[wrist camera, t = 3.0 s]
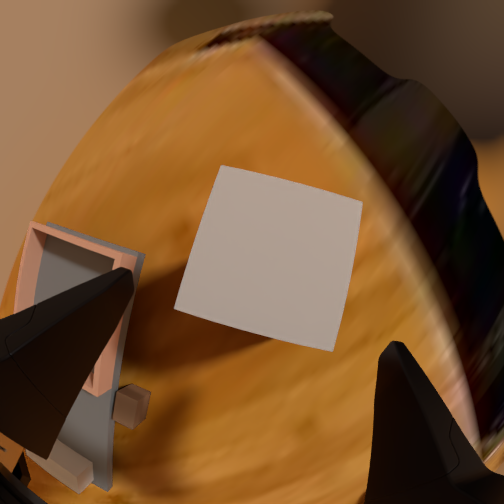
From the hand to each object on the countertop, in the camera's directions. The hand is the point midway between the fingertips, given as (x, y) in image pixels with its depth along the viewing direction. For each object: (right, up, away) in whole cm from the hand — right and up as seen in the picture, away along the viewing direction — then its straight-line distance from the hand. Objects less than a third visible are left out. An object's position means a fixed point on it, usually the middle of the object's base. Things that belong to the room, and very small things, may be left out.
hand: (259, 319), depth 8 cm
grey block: (+1, 0, +10) cm, 10 cm away
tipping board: (-14, -7, +7) cm, 17 cm away
